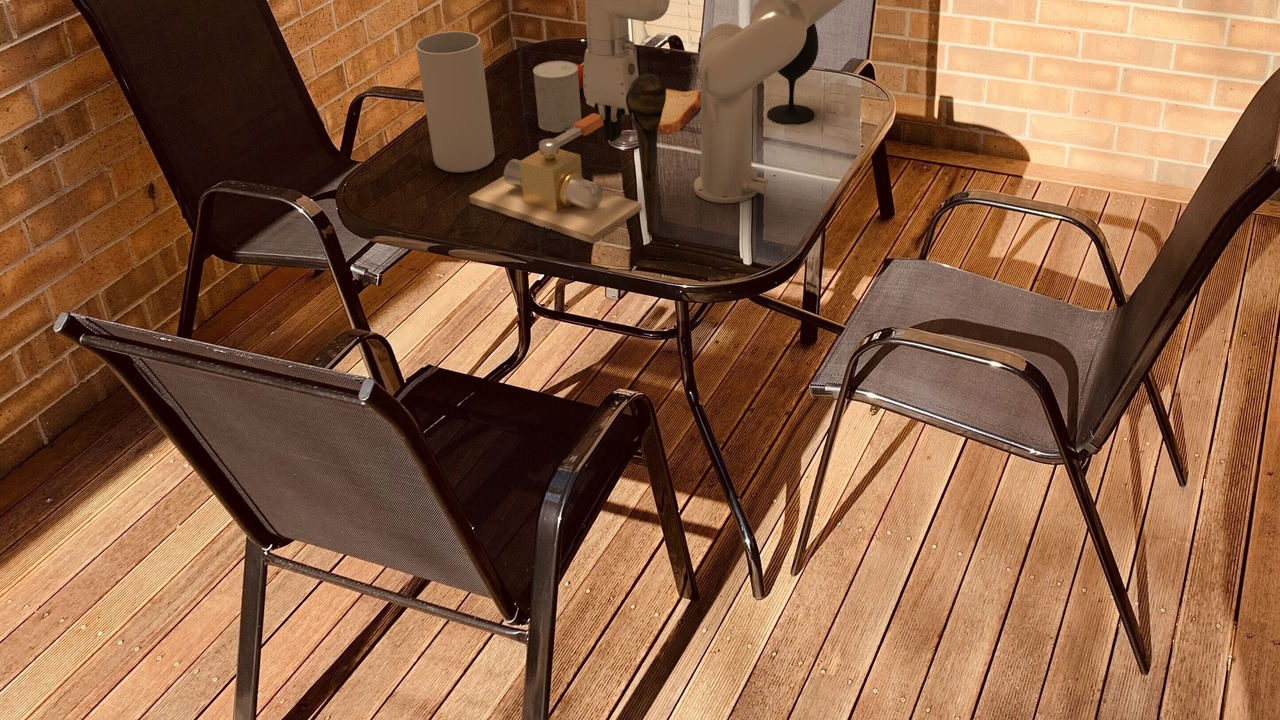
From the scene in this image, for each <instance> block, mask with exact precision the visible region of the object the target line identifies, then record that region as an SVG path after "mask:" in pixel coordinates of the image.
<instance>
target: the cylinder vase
mask: <svg viewBox="0 0 1280 720" xmlns="http://www.w3.org/2000/svg"><path fill="white" fill-rule="evenodd" d="M482 49H483V48H482V41H481V38H480V36H479V35H478V34H476V33H472V32H468V31H458V30H457V31H455V30H454V31H444V32H443V31H442V32H438V33H433V34H429V35H427V36H425V37H422V38H420V39H419V40H418V41H417V42H415V50H416V56H417V62H418V63H417V64H418V68H419V69H418V70H419V76H420V82H421V83H420V84H421V88H422V94H423V99H424V100H423V101H424V107H425V113H426V119H427V120H426V121H427V124H428V133H429V139H430V144H431V149H432V157H433V158H432V159H433V162H434V165H435V166H436V167H437V168H439V169H440V170H443V171H444V172H448V173H459V174H460V173H461V174H462V173H469V172H474V171H478V170H480V169H483V168H485V167H488V166H489V165H490V164H491V163H492V162H493V161H494V159H495V157H496V156H495V155H496V153H495V147H494V146H495V144H494V139H493V138H494V137H493V129H492V121H491V113H490V112H491V111H490V107H489V105H490V104H489V97H488V89H487V80H486V73H485V65H484V57H483V50H482Z"/></svg>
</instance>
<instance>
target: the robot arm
mask: <svg viewBox="0 0 1280 720" xmlns="http://www.w3.org/2000/svg"><path fill="white" fill-rule="evenodd" d="M670 1H671V0H584V4H585V5H584V6H585V7H584V8H585V9H584V10H585V24H586V38H587V39H586V40H587V43H586V44H587V47H586V49H585V52H584V57H583V63H584V66H583V88H582V89H583V94H584V97H585V99H586V100H585V103H586V104H587V105H589V107H590V106H591V107H592V108H594V109H595V110H596V111H597V112H598V114H599V115H600V118H601V119H602V120H603V126H602V127H603V133H604V140H605V141H610V142H612V143H613V142H614V141H616V140H618V139H619V138H620V137H621V136H622V134H623V132H622V129H623V128H622V118H623V117H624V116H625V115H627V116H630V115H629V112H628V108H627V104H626V95H627V93H628V91H629V88H630V87H631V84H632V82H633V81H634V80H635V79H636V78H637V77H638V76H640V75H639V69H638V64H637V59H636V55H635V52H634V50H633V49H634V48H635V42H634V41H631V40H630V32H629V31H630V28H629V19H630V20H633V21H640V22H654V21H657V20H659V19H661V18H662V17H663V16H664V15H665V14H666V13H667V11H668V9H669V6H670ZM844 1H845V0H758V1H757V2H756V3H755V5H754V6H753V8H752V11H751V14H750V23H749V24H748V25H746V26H745V27H741V26H739V25H737V24H734V23H729V22H728V23H722V24H718V25H716V26H715V25H714V27H712V28H711V29H710V30H709V31H708V32H707V33H706V34H705V36H704V37H703V39H702V42H701V43H700V48H699V56H698V57H699V60H698V62H699V63H698V78H699V82H700V92H701V106H700V130H701V131H700V136H701V138H700V143H701V145H700V147H701V150H700V152H701V153H700V154H701V155H700V156H701V157H700V158H701V159H700V161H701V174H700V175H699V176H698V177H696V179H695V180H694V181H693V192H694V193H695V195H696V196H698V197H699V198H701V199H703V200H705V201H708V202H711V203H716V204H717V203H718V204H733V203H740V202H745V201H748V200H750V199H751V198H753V197H754V196H755V195H757V194H761V195H765V194H766V193H767V191H768V183H769V180H768V179H767V178H763V177H758V175H757V167H755V166H752V155H753V153H752V148H753V147H752V146H753V145H752V143H753V142H752V141H753V139H752V138H753V109H754V108H753V106H754V104H753V103H754V102H753V101H754V99H753V98H754V97H753V96H754V88H755V87H756V86H758V85H759V84H760V83H762V82H764V81H765V80H767V79H768V78H770V77H771V76H773V75H775V74H777V73H778V72H777V71H779V70H780V69H782V68H783V67H784V66H786V65H787V64H789V63H790V62H791V61H792V60H793V59H794V58H795V57H796V56H797V55H798V54H799V53H800V51H801V50H802V48H803V46H804V44H805V40H806V35H807V29H808V28H809V27H810V26H811V25H812V24H814V23H815V24H816V23H817V22H818V21H819V20H820V19H822V18H823V17H825V15H827V14H828V13H830V12H831V11H832V10H834V9H835V8H836V7H838V6H839V5H840V4H841V3H842V2H844ZM632 115H633V113H632Z"/></svg>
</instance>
